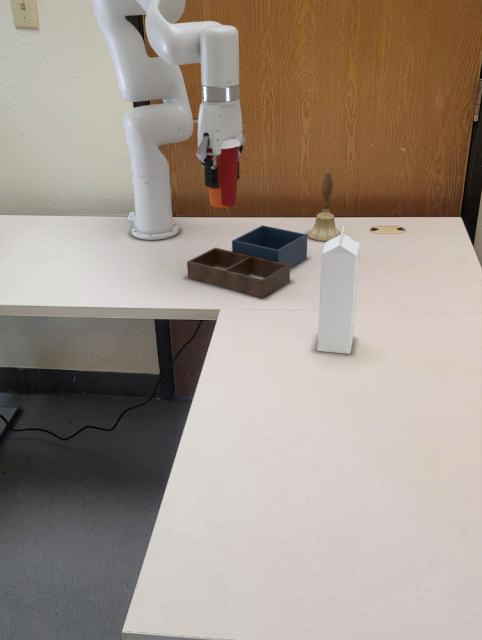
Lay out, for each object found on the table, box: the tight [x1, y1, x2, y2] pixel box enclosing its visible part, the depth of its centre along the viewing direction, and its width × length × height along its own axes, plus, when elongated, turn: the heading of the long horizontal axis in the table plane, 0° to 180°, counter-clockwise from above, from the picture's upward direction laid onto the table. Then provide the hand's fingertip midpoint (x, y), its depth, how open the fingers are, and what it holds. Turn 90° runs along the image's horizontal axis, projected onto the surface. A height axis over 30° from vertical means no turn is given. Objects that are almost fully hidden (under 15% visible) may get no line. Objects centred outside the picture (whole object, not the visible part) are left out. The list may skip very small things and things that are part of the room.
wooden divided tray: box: [186, 247, 291, 299], centre depth 160 cm, size 20×11×4 cm, turn 54°
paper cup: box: [208, 137, 240, 209], centre depth 153 cm, size 8×8×14 cm
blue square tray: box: [231, 224, 309, 270], centre depth 169 cm, size 13×13×6 cm
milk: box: [316, 225, 361, 355], centre depth 128 cm, size 6×6×22 cm
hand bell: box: [307, 172, 341, 242], centre depth 180 cm, size 8×8×16 cm
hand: (222, 182), depth 154 cm, fingers closed on paper cup, 6 cm apart
